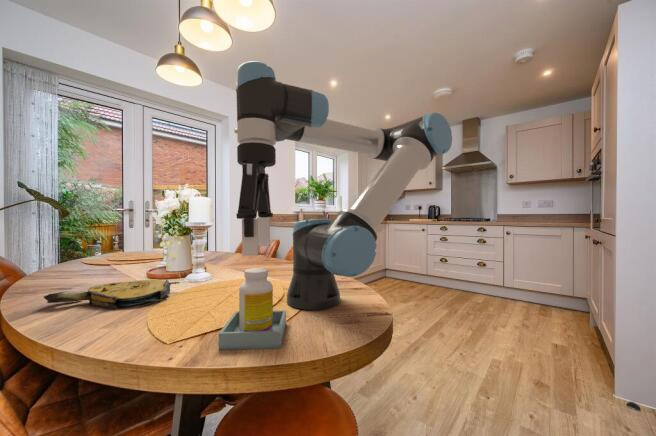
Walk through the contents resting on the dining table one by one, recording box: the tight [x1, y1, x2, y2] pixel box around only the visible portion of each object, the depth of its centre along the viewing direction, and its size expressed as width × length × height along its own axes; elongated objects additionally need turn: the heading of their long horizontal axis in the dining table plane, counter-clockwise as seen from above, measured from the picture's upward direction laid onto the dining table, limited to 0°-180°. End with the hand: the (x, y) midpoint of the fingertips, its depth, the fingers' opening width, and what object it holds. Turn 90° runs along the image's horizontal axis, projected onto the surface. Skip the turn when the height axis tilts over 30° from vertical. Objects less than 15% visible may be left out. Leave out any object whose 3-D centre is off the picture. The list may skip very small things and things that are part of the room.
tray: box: [218, 310, 287, 351], centre depth 55 cm, size 11×11×3 cm
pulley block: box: [43, 278, 180, 310], centre depth 75 cm, size 14×6×30 cm
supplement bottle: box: [238, 267, 274, 332], centre depth 55 cm, size 7×7×13 cm
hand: (257, 250), depth 55 cm, fingers open, 13 cm apart
